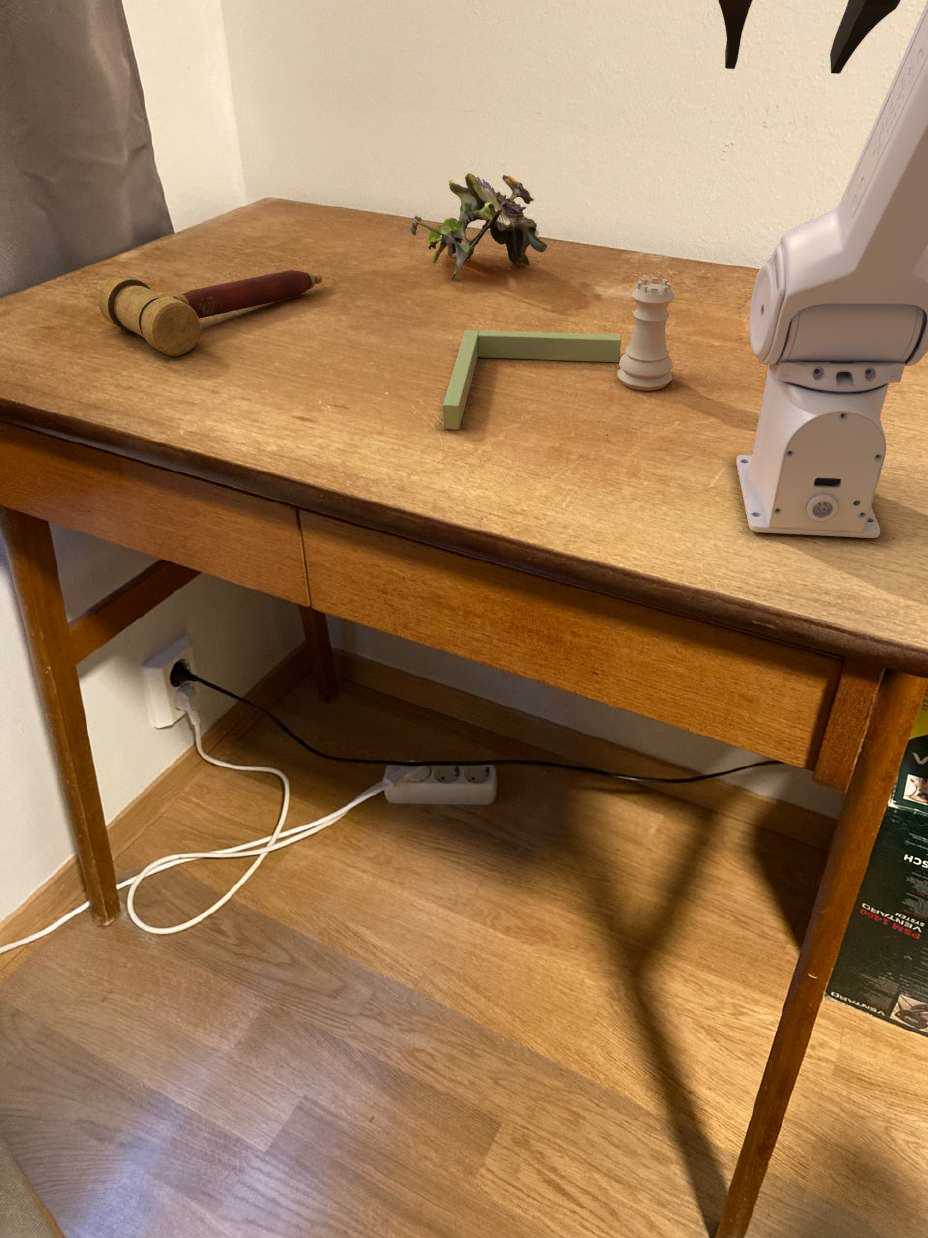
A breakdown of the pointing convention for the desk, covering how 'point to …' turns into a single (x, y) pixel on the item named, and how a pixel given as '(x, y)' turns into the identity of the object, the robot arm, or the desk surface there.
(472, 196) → the passion flower
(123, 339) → the desk surface
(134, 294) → the gavel
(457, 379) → the corner guide
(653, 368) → the rook chess piece
